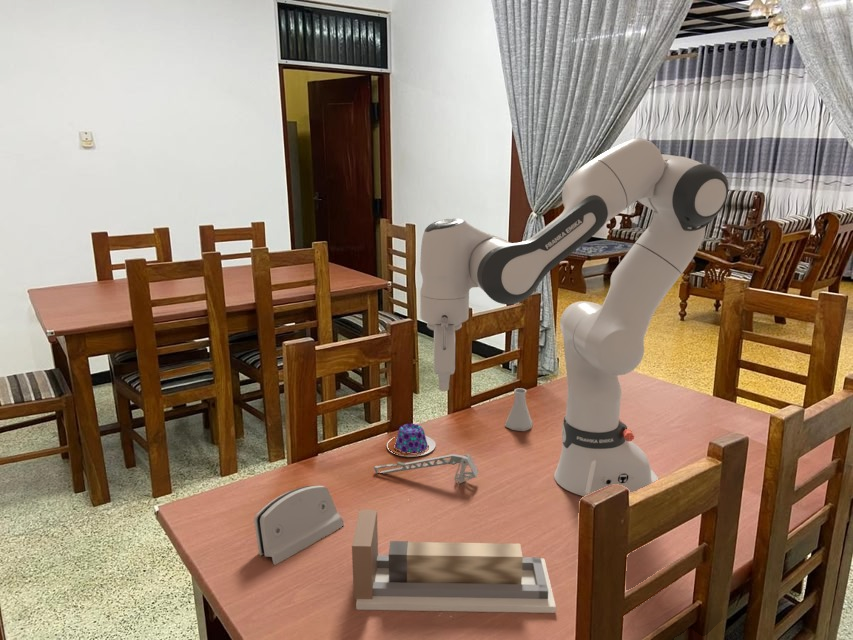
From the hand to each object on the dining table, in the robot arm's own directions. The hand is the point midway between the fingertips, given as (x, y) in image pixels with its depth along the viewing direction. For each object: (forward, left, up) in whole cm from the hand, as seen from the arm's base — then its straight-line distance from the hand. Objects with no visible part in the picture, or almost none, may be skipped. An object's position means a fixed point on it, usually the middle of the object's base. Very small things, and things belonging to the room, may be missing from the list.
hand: (443, 379), depth 120 cm
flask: (-20, -41, -29) cm, 54 cm away
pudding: (+8, -29, -30) cm, 42 cm away
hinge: (+27, +8, -30) cm, 41 cm away
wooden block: (-2, +21, -28) cm, 35 cm away
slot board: (-2, +21, -29) cm, 36 cm away
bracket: (+4, -14, -30) cm, 33 cm away
